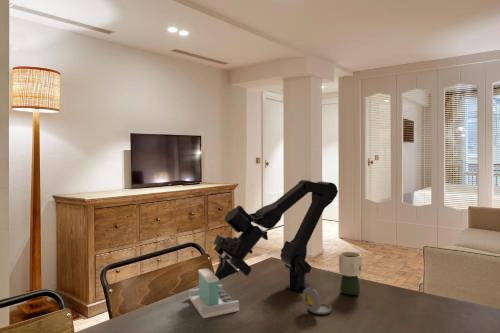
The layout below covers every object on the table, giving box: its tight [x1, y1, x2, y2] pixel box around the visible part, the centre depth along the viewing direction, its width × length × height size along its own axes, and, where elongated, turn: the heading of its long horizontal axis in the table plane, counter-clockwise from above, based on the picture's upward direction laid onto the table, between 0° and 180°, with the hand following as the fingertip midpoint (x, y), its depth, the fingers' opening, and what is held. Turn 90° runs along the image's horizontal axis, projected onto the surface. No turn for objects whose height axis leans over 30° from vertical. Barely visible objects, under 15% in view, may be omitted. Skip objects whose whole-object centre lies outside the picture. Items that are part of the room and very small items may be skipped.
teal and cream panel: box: [198, 267, 220, 306], centre depth 111 cm, size 3×10×8 cm, turn 24°
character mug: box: [338, 250, 362, 296], centre depth 119 cm, size 11×7×13 cm, turn 179°
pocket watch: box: [302, 279, 332, 315], centre depth 106 cm, size 8×8×10 cm
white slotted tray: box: [188, 284, 240, 319], centre depth 112 cm, size 11×15×3 cm
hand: (213, 280), depth 112 cm, fingers closed, pressing on teal and cream panel
